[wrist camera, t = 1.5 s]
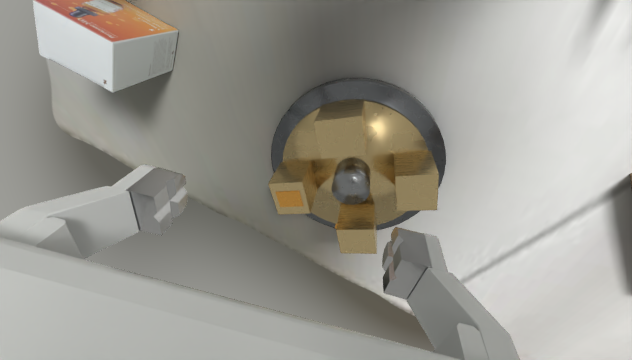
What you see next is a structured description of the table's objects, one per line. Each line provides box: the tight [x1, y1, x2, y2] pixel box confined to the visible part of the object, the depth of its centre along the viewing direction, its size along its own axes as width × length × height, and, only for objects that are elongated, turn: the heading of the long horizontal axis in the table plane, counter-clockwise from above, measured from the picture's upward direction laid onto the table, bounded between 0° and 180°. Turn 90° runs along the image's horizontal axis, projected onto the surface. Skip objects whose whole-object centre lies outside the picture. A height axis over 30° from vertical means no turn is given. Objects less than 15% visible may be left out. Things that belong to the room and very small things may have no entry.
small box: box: [33, 0, 178, 93], centre depth 31 cm, size 8×6×10 cm
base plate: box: [271, 78, 446, 230], centre depth 40 cm, size 24×24×2 cm
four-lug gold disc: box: [268, 99, 439, 254], centre depth 36 cm, size 20×20×6 cm
